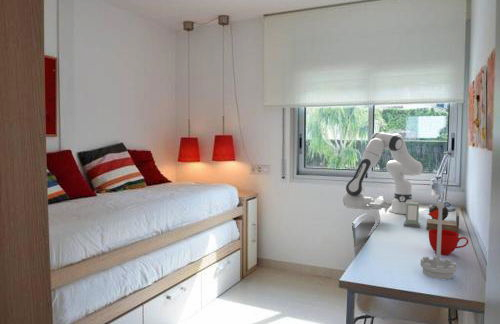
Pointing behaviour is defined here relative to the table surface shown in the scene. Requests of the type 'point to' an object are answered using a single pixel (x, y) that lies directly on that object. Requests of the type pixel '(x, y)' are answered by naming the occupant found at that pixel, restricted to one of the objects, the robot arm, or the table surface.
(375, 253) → the table surface
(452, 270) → the flag stand
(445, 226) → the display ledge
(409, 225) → the green pillar on base
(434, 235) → the ceramic cup
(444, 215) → the alarm clock
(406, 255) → the table surface
